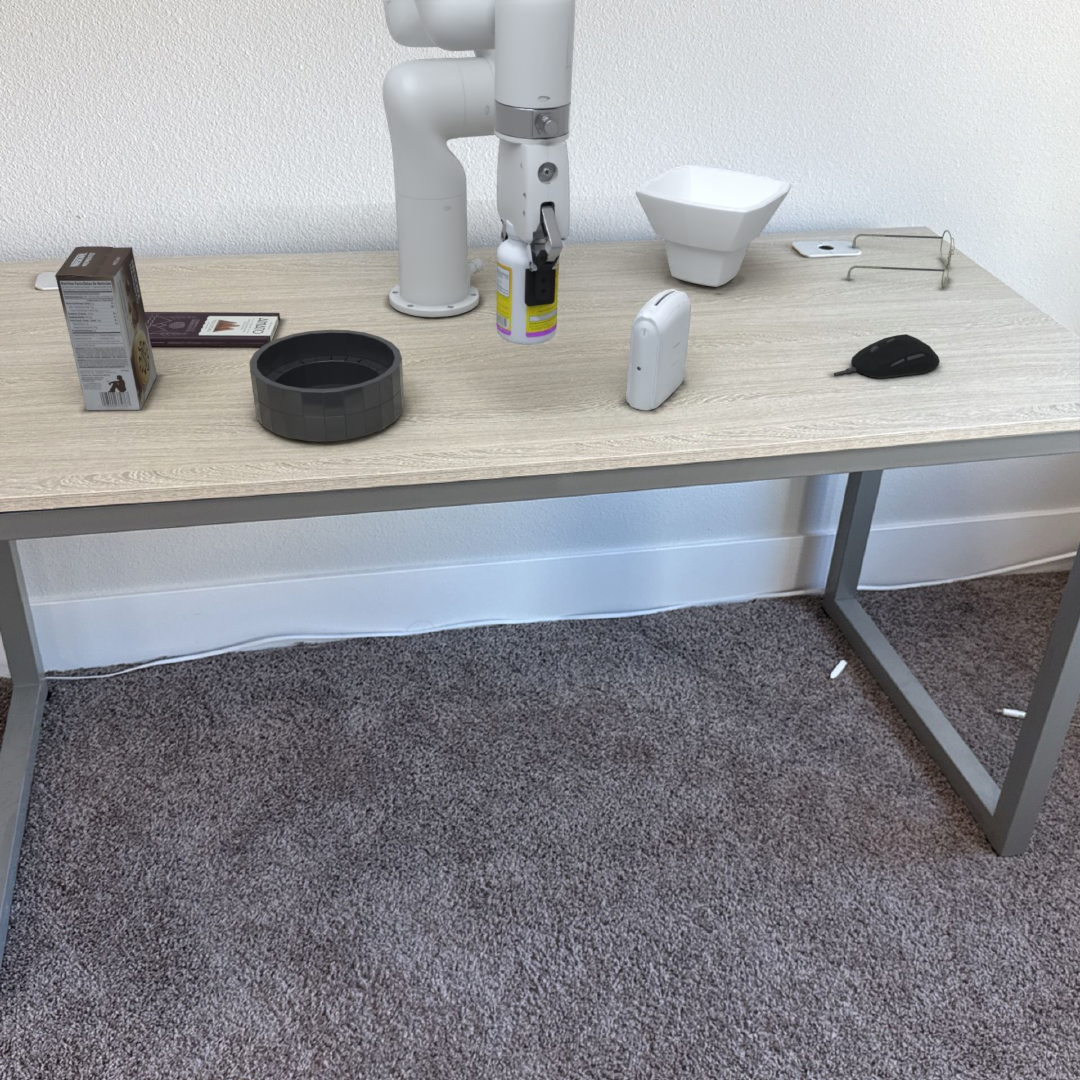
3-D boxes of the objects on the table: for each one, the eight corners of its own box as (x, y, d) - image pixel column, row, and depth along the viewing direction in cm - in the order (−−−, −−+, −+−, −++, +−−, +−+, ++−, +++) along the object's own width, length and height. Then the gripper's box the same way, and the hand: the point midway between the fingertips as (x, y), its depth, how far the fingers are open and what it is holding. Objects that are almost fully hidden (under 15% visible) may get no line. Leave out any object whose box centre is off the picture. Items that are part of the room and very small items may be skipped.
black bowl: (323, 368, 134) (318, 318, 131) (432, 402, 127) (430, 350, 124) (225, 420, 122) (217, 367, 119) (340, 461, 115) (335, 405, 112)
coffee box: (103, 377, 131) (75, 245, 122) (158, 376, 131) (134, 244, 122) (83, 411, 123) (51, 273, 114) (142, 410, 124) (115, 273, 115)
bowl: (787, 274, 166) (801, 181, 158) (735, 313, 152) (748, 214, 144) (677, 250, 174) (685, 160, 166) (618, 285, 160) (624, 190, 153)
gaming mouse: (820, 365, 138) (825, 336, 136) (917, 351, 143) (924, 322, 141) (848, 386, 134) (854, 356, 131) (948, 371, 138) (955, 341, 136)
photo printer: (654, 415, 126) (663, 313, 119) (620, 406, 128) (627, 305, 121) (688, 382, 133) (698, 285, 127) (656, 374, 135) (665, 278, 128)
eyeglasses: (949, 292, 161) (957, 259, 158) (846, 280, 164) (852, 247, 162) (947, 257, 174) (954, 226, 171) (851, 247, 177) (857, 216, 175)
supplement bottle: (563, 328, 122) (569, 215, 115) (544, 351, 117) (549, 235, 110) (508, 318, 124) (510, 206, 117) (487, 341, 119) (487, 225, 112)
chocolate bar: (142, 311, 145) (279, 312, 146) (144, 318, 145) (280, 319, 146) (124, 338, 137) (268, 339, 138) (125, 345, 138) (269, 346, 139)
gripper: (601, 140, 102) (590, 318, 112) (536, 96, 115) (531, 259, 126) (526, 146, 100) (522, 327, 110) (469, 100, 113) (469, 265, 123)
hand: (527, 289), depth 118 cm, fingers closed on supplement bottle, 6 cm apart
